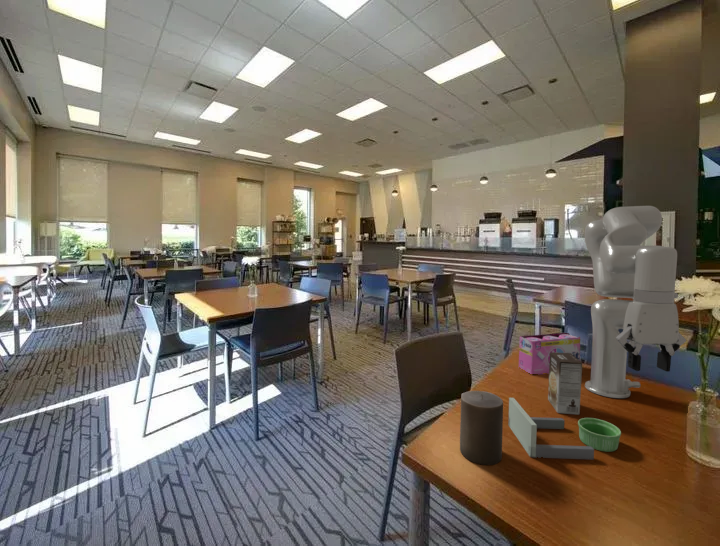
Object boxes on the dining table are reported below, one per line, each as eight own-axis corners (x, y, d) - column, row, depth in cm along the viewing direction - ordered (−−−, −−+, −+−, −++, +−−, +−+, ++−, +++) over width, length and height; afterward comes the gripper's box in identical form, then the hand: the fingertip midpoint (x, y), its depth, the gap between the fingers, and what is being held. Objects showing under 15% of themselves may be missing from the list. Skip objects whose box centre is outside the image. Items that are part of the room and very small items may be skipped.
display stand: (561, 426, 94) (563, 398, 93) (593, 459, 80) (595, 426, 79) (508, 425, 95) (509, 397, 94) (530, 457, 81) (531, 425, 80)
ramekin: (615, 458, 80) (616, 441, 80) (572, 442, 87) (572, 425, 86) (624, 443, 86) (625, 427, 86) (583, 429, 93) (584, 414, 92)
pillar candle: (498, 470, 76) (501, 406, 75) (455, 457, 81) (456, 396, 80) (504, 448, 84) (506, 390, 83) (464, 437, 89) (465, 382, 88)
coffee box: (546, 399, 110) (548, 351, 109) (568, 401, 109) (570, 352, 108) (557, 413, 101) (559, 361, 100) (581, 415, 100) (583, 362, 99)
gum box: (566, 363, 143) (568, 332, 142) (583, 370, 136) (584, 337, 135) (517, 368, 138) (518, 335, 137) (531, 375, 130) (533, 341, 129)
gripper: (677, 295, 85) (672, 364, 87) (605, 295, 87) (602, 363, 88) (705, 300, 78) (699, 375, 80) (626, 299, 79) (622, 374, 81)
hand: (648, 368), depth 84 cm, fingers open, 6 cm apart
